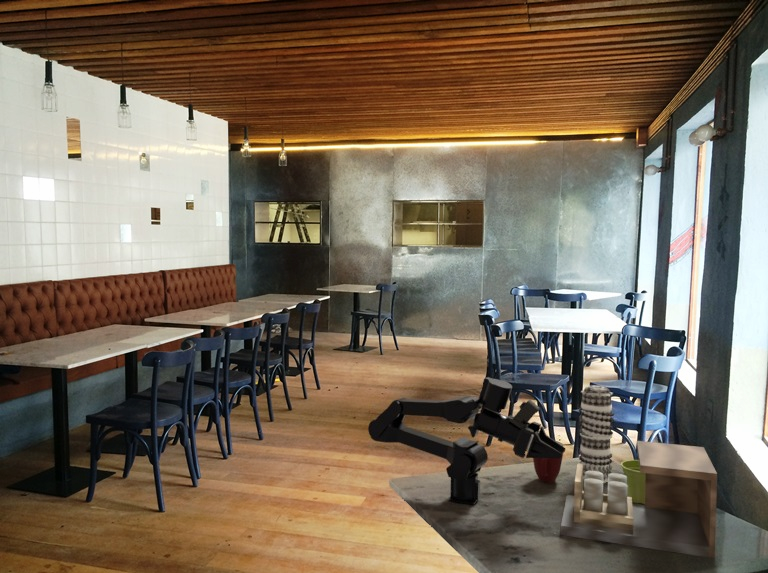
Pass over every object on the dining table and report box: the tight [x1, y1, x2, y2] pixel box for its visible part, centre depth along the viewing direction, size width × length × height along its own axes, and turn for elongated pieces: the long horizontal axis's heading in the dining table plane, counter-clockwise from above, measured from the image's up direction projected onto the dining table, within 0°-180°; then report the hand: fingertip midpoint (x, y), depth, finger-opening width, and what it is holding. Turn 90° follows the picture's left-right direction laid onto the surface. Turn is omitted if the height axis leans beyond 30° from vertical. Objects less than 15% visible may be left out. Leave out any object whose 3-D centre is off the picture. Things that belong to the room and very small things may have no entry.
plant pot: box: [620, 459, 645, 505], centre depth 153 cm, size 9×9×9 cm
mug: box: [532, 440, 564, 484], centre depth 165 cm, size 10×8×10 cm
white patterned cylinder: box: [578, 384, 615, 484], centre depth 169 cm, size 9×9×25 cm
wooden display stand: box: [560, 440, 718, 559], centre depth 137 cm, size 30×19×17 cm, turn 70°
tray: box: [573, 463, 633, 530], centre depth 139 cm, size 12×13×9 cm
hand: (563, 453), depth 142 cm, fingers open, 9 cm apart
